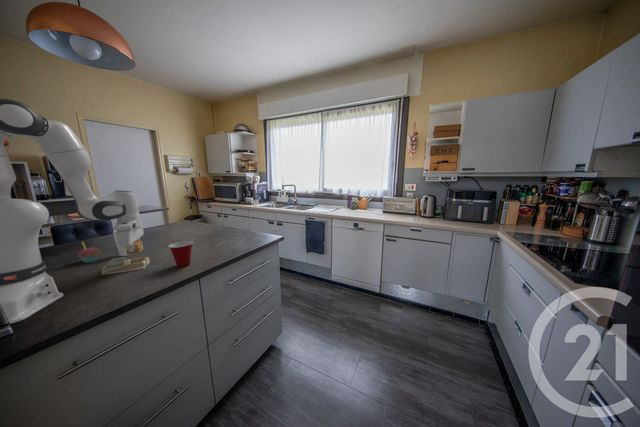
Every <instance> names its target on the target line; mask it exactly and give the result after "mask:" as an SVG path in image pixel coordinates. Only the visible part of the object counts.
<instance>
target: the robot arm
mask: <svg viewBox="0 0 640 427" xmlns="http://www.w3.org/2000/svg"><path fill="white" fill-rule="evenodd" d="M22 136H23V137H27V138H30V139H31V140H32V141H34V142H35V143H36V144H37V145H38V146H39V147H40V149H41V151H42V152H43V154H44V155H45V156H46V158H47V159H48V161H49V162H50V163H51V165H52V166H53V168H55V170H56V171H57V173H58V174H59V175H60V177H61V179H62V180H63V182H64V184H65V185H66V187H67V188H68V190H69V192H70V194H71V196H72V197H73V199H74V203H75V211H76V214H77V215H78V216H79V217H81V218H83V219H84V220H85V219H86V220H95V221H103V222H104V221H105V222H106V221H112V220H115V219H116V224H115V225H114V226H113V231H117V233H116V235H117V239H118V243H119V245H120V246H121V247H125V246H127V247H128V248H129V252H133V251H134V250H135V247H133V243H134V242H135V241H141V239H140V238H142V236H144V235H145V232H144V231H145V230H144V228H143V222H142V217H141V214H140V211H139V209H140V207H139V200H138V198H137V194H135V192H132V191H130V190H129V191H128V190H119V189H117V190H114V191H113V192H111V193H110V194H108V195H106V196H105V197H101V198H99V197H97V196H96V195H95V193H94V192H93V189H91V186H90V185H89V183H88V180H87V178H86V175H87V172H88V171H89V170H90V169H91V167H92V165H93V163H92V160H91V157H90V155H89V153H88V150H87V149H86V147H85V146H84V144H83V143H82V141H81V140H80V138H79V137H78V136H77V135H76V133H75V132H74V130H72V128H70V126H69V125H68V124H66V123H64V122H62V121H58V120H50V119H49V120H48V119H47V118H45V117H44V116H42V115H41V114H40V113H39V112H36V111H35V110H33V108H31V107H29V106H28V105H26V104H24V103H22V102H20V101H17V100H13V99H10V98H0V303H1V305H2V308H3V310H4V312H5V315H6V317H7V319H8V321H9V323H10V324H9V325H11V324H14V323H17V322H20V321H23V320H25V319H27V318H29V317H31V316H32V315H34V314H35V313H37V312H38V311H40V310H42V309H44V308H45V307H47V306H48V305H51V304H52V303H54V302H56V301H57V300H59V299H61V298H62V297H64V292H62V291H61V292H59V290H58V287H57V285H56V283H55V282H56V281H55V280H54V277H52V276H51V275H49V274H48V273H47V272H46V271H47V265H46V264H45V261H44V260H43V259H42V255H41V250H40V247H39V235H40V231H41V228H42V226H43V225H45V224H46V223H47V221H48V220H49V217H50V213H49V209H48V208H47V207H46V206H45V205H43V204H42V203H39V202H37V201H32V200H29V199H24V198H12V194H11V191H12V190H11V189H12V186H13V184H14V183H15V182H16V180H17V175H16V173H15V171H14V168H13V165H12V162H11V160H10V158H9V157H10V156H9V155H8V153H7V152H8V151H7V150H6V148H5V140H6V138H7V137H22Z"/></svg>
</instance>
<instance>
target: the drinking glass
mask: <svg viewBox="0 0 640 427" xmlns="http://www.w3.org/2000/svg"><path fill="white" fill-rule="evenodd" d="M112 232H113V237H114V238H113V239H114V241H115V244H116V247H117V251H118V255H119V257H126V256H130V255H131V254H128V255H127V251H126V246H125V247H121V246H120V245H119V243H118V239H117V235H116V233H117V231H114V230H113V231H112Z"/></svg>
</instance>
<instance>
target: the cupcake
mask: <svg viewBox="0 0 640 427" xmlns="http://www.w3.org/2000/svg"><path fill="white" fill-rule="evenodd" d="M81 244H82V247H83V249H82V250H80V251H78V252H77V253H76V256H77V258H80V259H81V260H82V261H83V262H84V263H92V262H96V261H97V260H98V256H99V255H100V254H101V250H100V249H99V248H97V247H88V248H87V247H86V245H85V243H84V242H83V241H81Z"/></svg>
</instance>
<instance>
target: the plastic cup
mask: <svg viewBox="0 0 640 427" xmlns="http://www.w3.org/2000/svg"><path fill="white" fill-rule="evenodd" d="M193 243H194V241H192V240H184V241H179V242H175V243H174V242H173V243H171V244H169V245H168V248H169V249H170V251H171V253H172V256H173V257H172V258H173V260H174V262H175V264H176V266H177V267H178V268H185V267H188V266H190V264H191V257H192V247H193Z"/></svg>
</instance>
